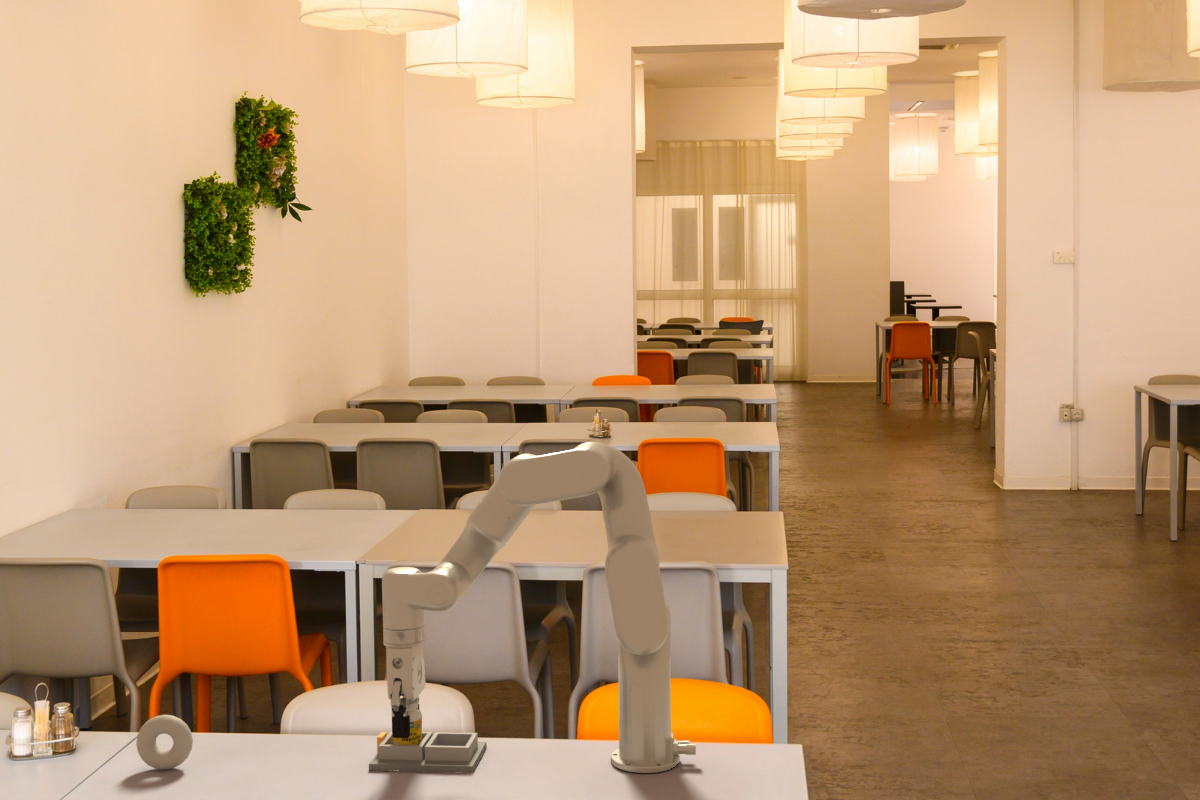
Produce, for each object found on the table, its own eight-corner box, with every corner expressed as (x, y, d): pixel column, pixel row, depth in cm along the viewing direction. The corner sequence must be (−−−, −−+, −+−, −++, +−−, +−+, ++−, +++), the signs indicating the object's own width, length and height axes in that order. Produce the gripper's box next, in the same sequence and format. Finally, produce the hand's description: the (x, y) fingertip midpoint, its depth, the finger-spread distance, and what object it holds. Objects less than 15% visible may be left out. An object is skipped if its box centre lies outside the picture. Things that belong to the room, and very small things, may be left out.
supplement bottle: (414, 742, 222) (415, 693, 221) (426, 752, 218) (427, 702, 217) (387, 748, 219) (388, 698, 218) (399, 758, 215) (400, 707, 214)
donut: (196, 765, 216) (194, 711, 216) (190, 771, 213) (188, 717, 213) (141, 766, 216) (139, 712, 216) (134, 773, 213) (132, 718, 212)
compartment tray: (486, 747, 224) (486, 725, 223) (472, 772, 211) (472, 748, 210) (388, 745, 225) (388, 723, 225) (368, 770, 212) (368, 746, 212)
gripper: (412, 647, 208) (414, 747, 209) (434, 624, 226) (436, 716, 226) (370, 647, 209) (373, 746, 210) (396, 623, 226) (398, 716, 227)
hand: (406, 730), depth 218 cm, fingers open, 6 cm apart
